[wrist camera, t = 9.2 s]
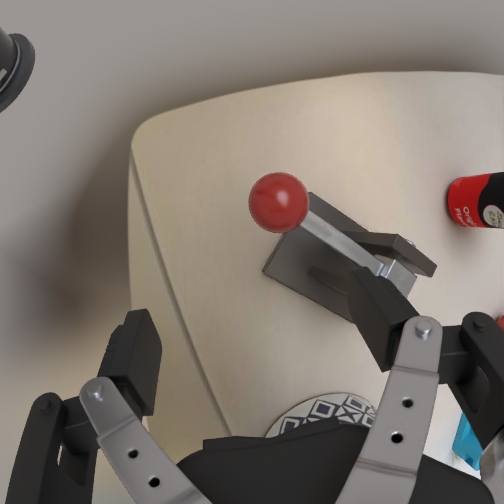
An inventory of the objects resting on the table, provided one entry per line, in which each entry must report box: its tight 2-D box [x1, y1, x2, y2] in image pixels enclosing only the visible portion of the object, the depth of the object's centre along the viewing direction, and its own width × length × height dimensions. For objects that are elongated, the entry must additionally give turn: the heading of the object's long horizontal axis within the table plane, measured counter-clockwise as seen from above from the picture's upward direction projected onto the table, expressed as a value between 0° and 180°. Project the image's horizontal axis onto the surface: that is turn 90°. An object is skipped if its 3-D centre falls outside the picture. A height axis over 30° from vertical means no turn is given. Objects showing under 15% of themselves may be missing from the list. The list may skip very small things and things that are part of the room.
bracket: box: [453, 413, 483, 471], centre depth 36 cm, size 6×12×7 cm, turn 19°
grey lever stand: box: [262, 192, 437, 324], centre depth 26 cm, size 12×9×13 cm
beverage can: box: [448, 172, 504, 229], centre depth 28 cm, size 6×6×12 cm
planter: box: [265, 393, 377, 438], centre depth 27 cm, size 16×16×14 cm
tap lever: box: [248, 172, 417, 298], centre depth 20 cm, size 13×4×4 cm, turn 60°
